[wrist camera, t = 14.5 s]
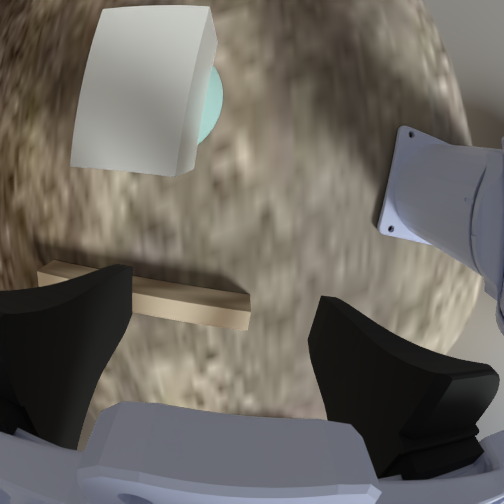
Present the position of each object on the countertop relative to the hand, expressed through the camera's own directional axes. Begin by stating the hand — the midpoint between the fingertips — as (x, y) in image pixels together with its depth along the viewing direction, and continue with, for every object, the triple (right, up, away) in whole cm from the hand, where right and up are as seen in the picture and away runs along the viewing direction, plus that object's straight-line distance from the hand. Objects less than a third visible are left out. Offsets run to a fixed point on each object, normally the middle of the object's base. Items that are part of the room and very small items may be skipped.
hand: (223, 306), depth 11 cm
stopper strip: (-7, -1, +10) cm, 13 cm away
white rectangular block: (-5, +12, +6) cm, 14 cm away
